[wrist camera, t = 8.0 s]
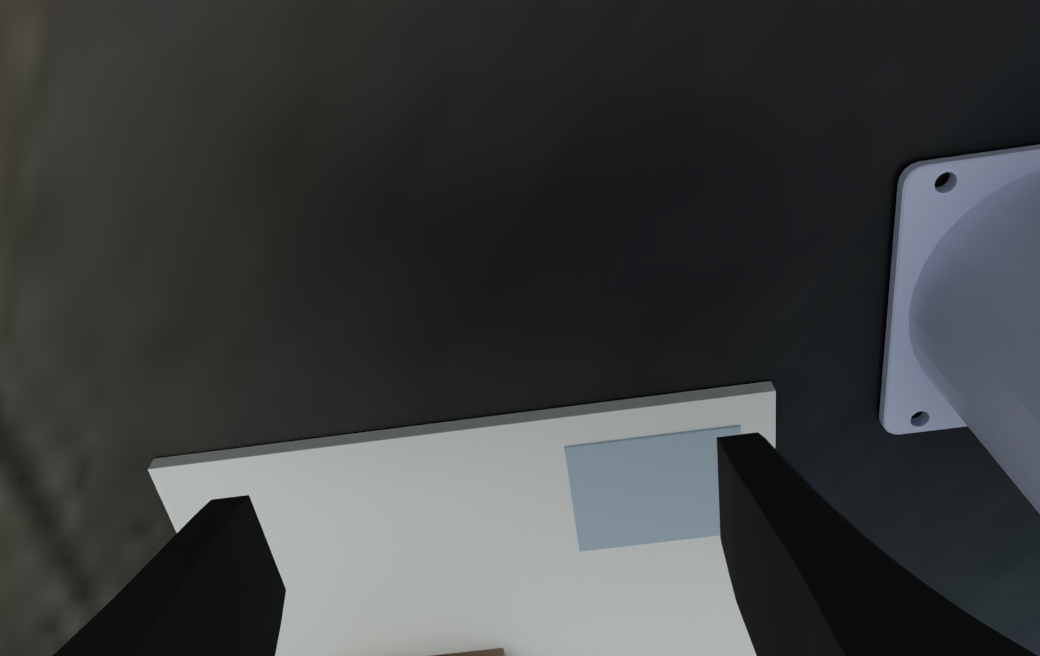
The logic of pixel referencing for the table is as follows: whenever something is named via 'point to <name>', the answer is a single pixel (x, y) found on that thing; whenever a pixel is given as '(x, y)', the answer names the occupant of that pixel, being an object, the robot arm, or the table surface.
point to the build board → (498, 529)
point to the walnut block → (478, 653)
